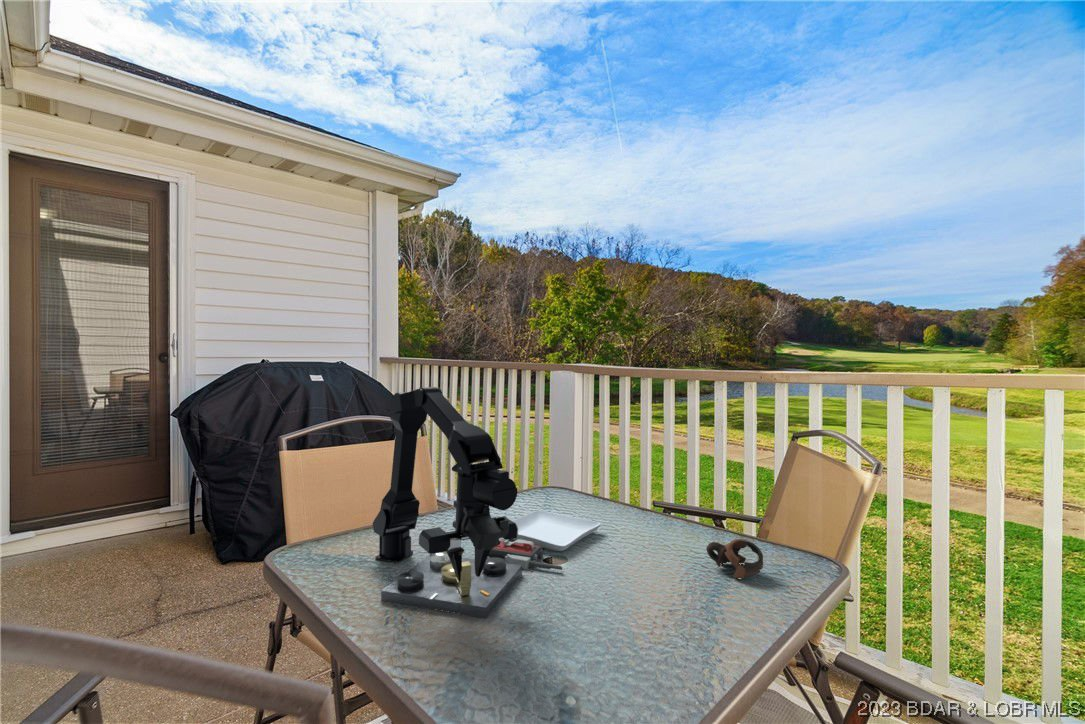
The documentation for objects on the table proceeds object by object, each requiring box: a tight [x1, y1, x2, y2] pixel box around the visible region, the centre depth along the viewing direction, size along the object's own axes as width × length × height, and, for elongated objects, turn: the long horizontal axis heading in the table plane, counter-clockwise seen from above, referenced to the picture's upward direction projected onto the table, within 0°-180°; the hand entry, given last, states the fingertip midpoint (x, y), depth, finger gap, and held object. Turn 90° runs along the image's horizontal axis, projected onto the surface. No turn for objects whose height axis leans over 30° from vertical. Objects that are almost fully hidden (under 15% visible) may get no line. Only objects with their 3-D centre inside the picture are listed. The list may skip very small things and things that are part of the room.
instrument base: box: [380, 551, 523, 619], centre depth 107 cm, size 22×20×5 cm
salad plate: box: [512, 509, 602, 552], centre depth 138 cm, size 21×21×3 cm
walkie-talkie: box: [487, 539, 563, 571], centre depth 121 cm, size 9×4×20 cm
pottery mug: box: [706, 538, 764, 580], centre depth 116 cm, size 12×10×8 cm
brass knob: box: [441, 561, 471, 596], centre depth 104 cm, size 12×6×6 cm, turn 22°
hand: (468, 578), depth 100 cm, fingers open, 4 cm apart
